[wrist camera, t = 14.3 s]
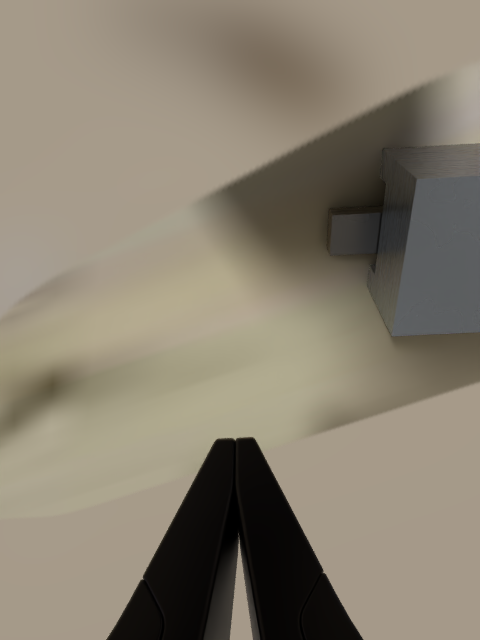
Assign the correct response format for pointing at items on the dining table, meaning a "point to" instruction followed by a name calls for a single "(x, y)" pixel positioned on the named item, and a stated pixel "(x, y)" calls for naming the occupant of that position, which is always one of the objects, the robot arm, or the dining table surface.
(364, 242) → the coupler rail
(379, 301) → the block
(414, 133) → the dining table surface
